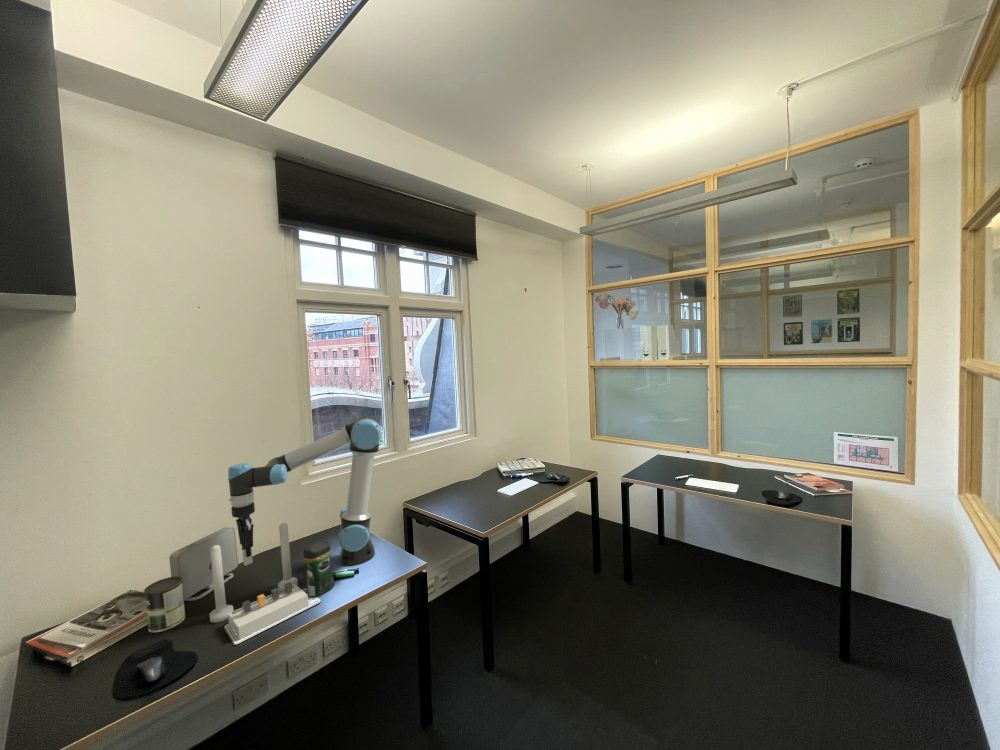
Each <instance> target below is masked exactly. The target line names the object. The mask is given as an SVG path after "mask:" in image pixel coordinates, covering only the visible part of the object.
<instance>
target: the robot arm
mask: <svg viewBox="0 0 1000 750" xmlns="http://www.w3.org/2000/svg"><path fill="white" fill-rule="evenodd" d="M381 439H382V429H381V426H380V424H379V422H378V421H377V419H376V418H374V417H372V416H362V417H359V418H357V419H355V420H353V421H352V422H350V423H348V424H345V425H343V427H342V429H340V430H338V431H335V432H333V433H331V434H329V435H326V436H324V437H321V438H319V439H317V440H315V441H312V442H310V443H308V444H306V445H304V446H301V447H298V448H296V449H294V450H292V451H289V452H287V453H285V454H283V455H280V456H275V457H273V458H272V459H270V460H269V461H268V463H267V464H266V465H264V466H260V467H259V466H257V467H253V466H252V465H251V463H249V462H243V463H242V462H240V463H236V464H233V465H230V467H228V471H227V472H228V479H227V481H228V485H229V487H228V488H229V495H230V498H229V499H228V501H229V502H230V505H231V507H230V508H231V515H232V517H233V518H237V519H235V522H236V525H237V533H238V540H239V544H240V545H241V551H242V561H243V566H245V567H246V566H248V565H250V564H253V562H254V560H253V551H252V550H253V549H252V547H254V524H253V522H252V518H251V517H250V515H252V514H254V513H255V512H256V511H255V510H256V507H255V502H254V501H255V496H254V495H255V494H254V488H258V487H259V488H260V487H264V486H265V487H266V486H272V485H273V486H274V485H275V486H277V485H279V484H285V482H286V481H287V478H288V473H289V472H292V471H294V470H296V469H298V468H300V467H302V466H305V465H307V464H309V463H311V462H314V461H315V460H318V459H321V458H322V457H325V456H327V455H329V454H332V453H334V452H336V451H338V450H340V449H343V448H345V447H347V446H349V452H351V454H352V459H351V468H350V476H349V477H350V478H349V485H348V494H347V501H346V507H343V508H341V510H340V511H339V512H340V513H339V518H340V526H339V527H340V529H339V535H338V542H339V545H340V547H341V549H340V552H339V563H340V564H342V565H346V566H355V565H360V564H361V565H362V564H364V563H366V562H368V561H370V560H371V559H373V558H374V557H375V555H376V549H375V545H374V543H373V541H372V539H371V536H370V535H371V534H370V527H371V526H370V525H371V517H372V514H371V513H370V512H369V503H370V494H371V487H372V486H371V485H372V478H373V477H372V476H373V470H374V469H373V468H374V460H375V455H376V454H378V453H379V450H380V449H379V448H380V442H381Z"/></svg>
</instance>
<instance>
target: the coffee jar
mask: <svg viewBox="0 0 1000 750" xmlns="http://www.w3.org/2000/svg"><path fill="white" fill-rule="evenodd" d="M331 553H332V548H331V544H330V542H329V541H328V540H324V539H321V540H320V541H318V542H316V543H313V544H311V545H309V546H307V547H304V548H303V560H304V562H305V565H306V594H307V595H309V596H310V597H319V596H322V595H324V594H325V593H326V592H327V593H328V592H329V591H330V590H331V589H333V588H334V587H335V579H334V578H335V577H334V574H333V569H332V564H331Z"/></svg>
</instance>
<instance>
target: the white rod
mask: <svg viewBox="0 0 1000 750" xmlns="http://www.w3.org/2000/svg"><path fill="white" fill-rule="evenodd" d="M288 526H289V525H288V523H286V522H282V523H281V524H280V525H279V526H278V527H279V528H278V529H279V530H278V531H279V541H280V553H281V554H280V555H281V568H282V580H281V581H279V582H278V584H277V589H278V590H279V591H280V590H283V589H285V584H287V583H289V582H290V583H291V584H292V585H294V584H295V585H296V586H298V587H299V580H298V578H297V577H293V576H292V561H291V550H290V535H289V527H288Z"/></svg>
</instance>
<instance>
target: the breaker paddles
mask: <svg viewBox="0 0 1000 750" xmlns="http://www.w3.org/2000/svg"><path fill="white" fill-rule="evenodd" d="M292 592H294V589H292V584H291V583H290V582H289V583H287V584H285V593H283V594H280V595H279V590H278V587H275V588H274V589H272V590H270V593H271V594H272V598H271V599H269V600H267V601H265V597H266V595H265V594H264V593H262V594H260V595H257V596H256V599H257V600H256V601H258V605H256V606H253V607H251V601H250V600H246V601H245V600H244V601H243V602H242V607H243V611H242V612H241V615H243V614H245V613H247V612H250V611H252V610H254V609H256V608H258V607H261V606H263V605H265V604H267V603H270V602H272V601H274V600H276V599H278V598H281V597H283V596H285V595H287V594H289V593H292ZM271 594H270V595H271Z"/></svg>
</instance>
